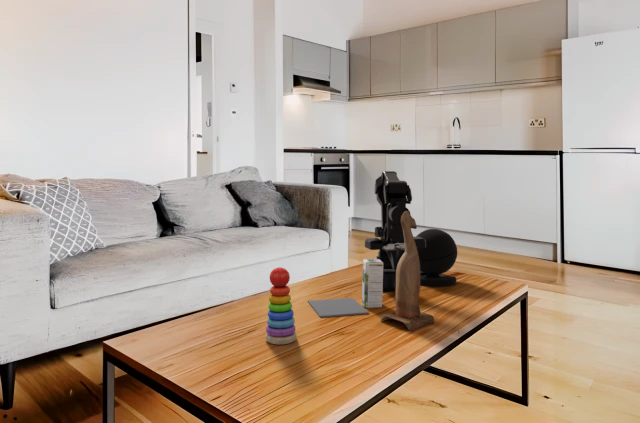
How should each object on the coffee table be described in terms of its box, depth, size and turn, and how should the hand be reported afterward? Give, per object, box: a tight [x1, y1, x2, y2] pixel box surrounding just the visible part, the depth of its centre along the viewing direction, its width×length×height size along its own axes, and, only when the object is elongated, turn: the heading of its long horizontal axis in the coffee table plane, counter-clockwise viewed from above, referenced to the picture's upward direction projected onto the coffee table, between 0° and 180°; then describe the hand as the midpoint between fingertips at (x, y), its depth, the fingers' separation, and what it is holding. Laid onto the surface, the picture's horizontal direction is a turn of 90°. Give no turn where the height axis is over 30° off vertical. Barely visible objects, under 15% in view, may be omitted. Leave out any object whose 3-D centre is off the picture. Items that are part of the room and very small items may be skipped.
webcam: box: [415, 228, 458, 288], centre depth 186 cm, size 17×17×20 cm
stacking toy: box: [265, 266, 297, 345], centre depth 125 cm, size 8×8×19 cm
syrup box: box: [361, 258, 384, 309], centre depth 155 cm, size 6×6×14 cm
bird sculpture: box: [380, 211, 435, 332], centre depth 138 cm, size 11×12×32 cm
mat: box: [307, 297, 370, 318], centre depth 153 cm, size 15×16×1 cm
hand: (394, 269), depth 157 cm, fingers closed
